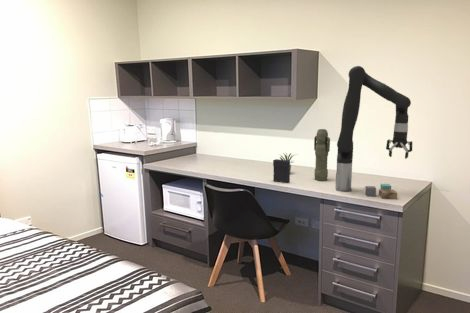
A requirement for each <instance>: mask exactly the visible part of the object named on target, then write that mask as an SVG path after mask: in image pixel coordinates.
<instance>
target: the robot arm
mask: <svg viewBox="0 0 470 313" xmlns="http://www.w3.org/2000/svg"><path fill="white" fill-rule="evenodd" d="M363 86H364V87H366V88H368V89H370V91H373V92H374V93H375V94H377V95H378V96H380V97H381V98H382V99H385V100H386V101H388V102H391V103H392V104H394V105H395V119H394V126H393V134H392V135H393V138H392V139H387V140H386V146H385V149H386V150H387V151H388V156H389V158H392V156H393V149H394V148H396V149H397V148H399V149H403V150H404V151H405V154H404V155H405V156H404V159H405V160H406V159H408V158H409V153H411V152H413V141H412V140H411V141H408V131H409V114H408V113H409V112H408V111H409V110H408V109H409V108H410V107H411V104H412V103H411V102H412V101H411V98H410V97H407V96H406V95H405V94H403V93H400V92H398V91H397V90H395V89H394V88H392V87H391V86H389V85H387V84H385V83H384V82H381V81H380V80H378V79H375V78H373V77H372V76H371V75H369V74H368V73H367V72H366V70H365V69H364V66H363V67H362V66H361V65H356V66H353V67H352V68H350V69H349V71H348V88H347V92H346V96H345V99H344V102H343V107H342V115H341V122H340V123H341V127H340V134H339V135H338V139H337V142H336V147H337V154H336V173H335V190H336V191H339V192H349V191H352V181H353V180H352V178H353V159H354V141H353V137H354V130H355V127H356V124H357V120H358V117H359V113H360V107H361V106H360V105H361V96H362V94H361V93H362V88H363ZM391 143H392V146H391V147H390V144H391ZM407 144H408V147H409V148H408V147H407V146H406V145H407Z"/></svg>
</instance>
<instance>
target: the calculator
mask: <svg viewBox="0 0 470 313" xmlns="http://www.w3.org/2000/svg"><path fill="white" fill-rule="evenodd" d="M272 163H273V164H272V166H273V182H277V183H283V184H284V183H285V184H288V183H290V181H291V180H290V179H291V171H290V165H291V160H290V161H288V159H287V160H286V159H285V160H284V159H283V160H281V159H279V158H278V159H276V158H275V159H273V160H272Z"/></svg>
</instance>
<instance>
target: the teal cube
mask: <svg viewBox="0 0 470 313" xmlns="http://www.w3.org/2000/svg"><path fill="white" fill-rule="evenodd" d="M379 189H392V185H391V184H390V183H380V188H379Z"/></svg>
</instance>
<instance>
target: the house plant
mask: <svg viewBox="0 0 470 313" xmlns="http://www.w3.org/2000/svg"><path fill="white" fill-rule="evenodd" d="M285 153H286V154H285ZM285 153H284V152H283V153H282V154H283V155H281V154H279V153H278V154H279V160H288V161H290V172H291V170H292V165H291V164H293V163H295V161H293V160H292V158H293V157H294V156H297V155H298V153H297V154H294V155H293V154H292V153H291V152H290V153H289V154H288V153H287V152H285ZM298 156H299V155H298Z"/></svg>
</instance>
